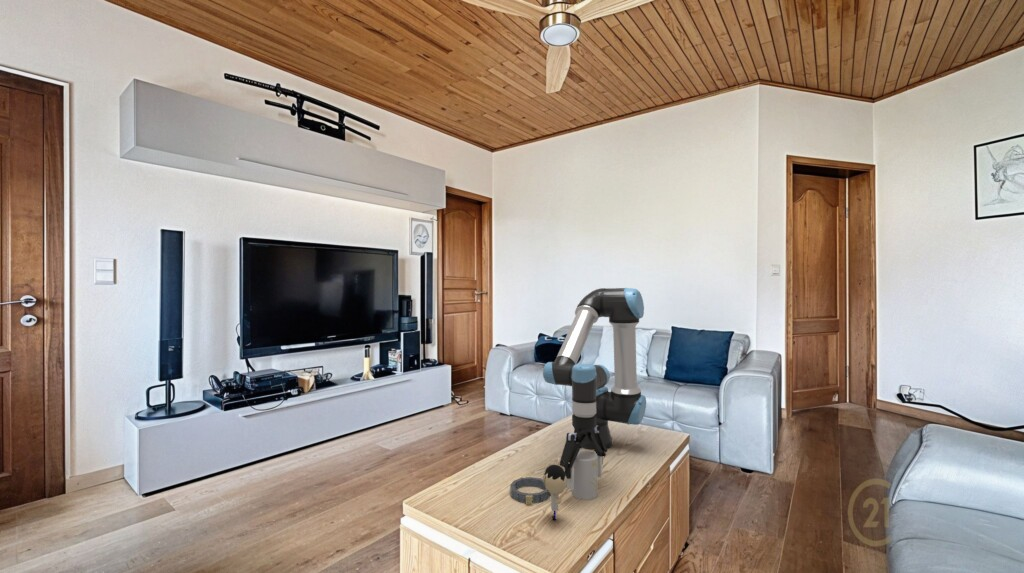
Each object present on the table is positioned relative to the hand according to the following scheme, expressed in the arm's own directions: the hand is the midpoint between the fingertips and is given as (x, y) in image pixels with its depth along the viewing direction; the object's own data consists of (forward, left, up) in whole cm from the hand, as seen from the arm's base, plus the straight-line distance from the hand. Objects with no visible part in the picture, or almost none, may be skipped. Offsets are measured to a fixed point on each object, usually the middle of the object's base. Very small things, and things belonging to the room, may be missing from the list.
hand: (584, 481), depth 137 cm
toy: (+18, +5, -4) cm, 19 cm away
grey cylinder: (0, 0, -4) cm, 4 cm away
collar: (+13, -11, -4) cm, 17 cm away
